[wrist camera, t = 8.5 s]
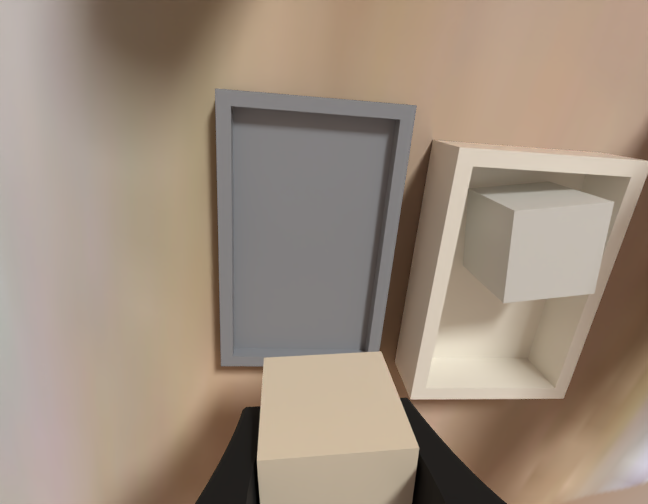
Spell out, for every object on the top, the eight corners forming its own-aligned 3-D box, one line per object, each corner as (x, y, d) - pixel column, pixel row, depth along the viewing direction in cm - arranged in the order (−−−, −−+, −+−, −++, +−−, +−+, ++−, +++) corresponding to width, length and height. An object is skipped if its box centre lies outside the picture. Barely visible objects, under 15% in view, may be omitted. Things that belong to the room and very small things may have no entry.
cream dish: (598, 152, 19) (652, 161, 16) (530, 363, 23) (563, 398, 21) (432, 139, 18) (459, 147, 15) (394, 362, 22) (410, 399, 20)
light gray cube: (549, 181, 19) (614, 201, 15) (537, 258, 20) (594, 293, 16) (468, 188, 18) (514, 210, 15) (462, 265, 20) (503, 303, 16)
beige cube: (381, 351, 13) (419, 448, 10) (374, 438, 15) (405, 551, 11) (263, 357, 13) (257, 461, 9) (269, 446, 14) (264, 566, 11)
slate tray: (408, 105, 17) (416, 105, 16) (372, 353, 22) (376, 366, 21) (219, 89, 16) (215, 88, 15) (224, 352, 21) (220, 365, 20)
